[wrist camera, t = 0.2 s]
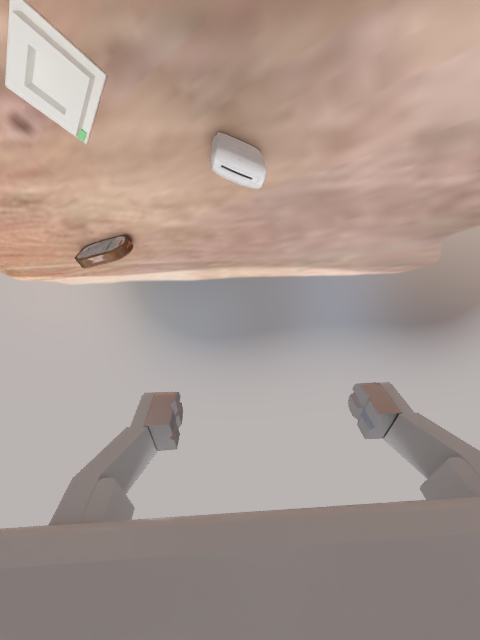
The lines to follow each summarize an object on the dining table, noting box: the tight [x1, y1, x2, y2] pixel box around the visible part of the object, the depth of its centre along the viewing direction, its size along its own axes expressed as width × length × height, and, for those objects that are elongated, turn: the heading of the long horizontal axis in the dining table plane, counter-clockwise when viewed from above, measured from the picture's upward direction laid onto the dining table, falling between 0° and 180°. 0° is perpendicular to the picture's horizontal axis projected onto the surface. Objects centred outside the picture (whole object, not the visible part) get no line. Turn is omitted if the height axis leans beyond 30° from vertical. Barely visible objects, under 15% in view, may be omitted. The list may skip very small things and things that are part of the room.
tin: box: [75, 236, 133, 268], centre depth 58 cm, size 15×3×8 cm, turn 104°
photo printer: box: [211, 132, 266, 189], centre depth 42 cm, size 10×4×12 cm, turn 69°
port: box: [5, 0, 107, 144], centre depth 36 cm, size 12×12×3 cm
